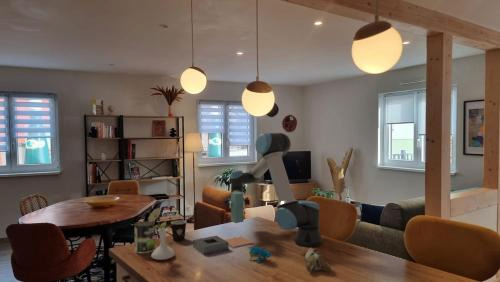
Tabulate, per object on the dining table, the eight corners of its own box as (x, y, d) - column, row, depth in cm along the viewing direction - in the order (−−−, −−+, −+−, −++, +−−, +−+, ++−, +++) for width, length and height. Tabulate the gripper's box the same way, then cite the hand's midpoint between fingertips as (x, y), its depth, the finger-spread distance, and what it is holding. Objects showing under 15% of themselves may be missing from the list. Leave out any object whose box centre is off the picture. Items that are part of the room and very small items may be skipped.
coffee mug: (188, 237, 194) (188, 220, 194) (183, 242, 186) (183, 224, 186) (169, 236, 196) (168, 220, 195) (163, 241, 187) (163, 224, 187)
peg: (243, 221, 184) (243, 193, 183) (235, 223, 181) (235, 194, 181) (238, 219, 188) (238, 191, 188) (231, 221, 185) (230, 192, 185)
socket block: (228, 250, 173) (228, 242, 173) (203, 255, 165) (203, 247, 165) (216, 242, 185) (216, 235, 184) (193, 247, 177) (193, 239, 177)
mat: (253, 243, 183) (253, 242, 183) (233, 247, 176) (233, 246, 176) (241, 237, 194) (241, 236, 194) (221, 241, 187) (221, 240, 187)
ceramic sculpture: (321, 243, 156) (332, 257, 141) (321, 261, 156) (332, 276, 141) (299, 244, 155) (308, 258, 140) (299, 262, 155) (308, 278, 140)
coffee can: (159, 248, 175) (158, 222, 175) (143, 255, 166) (143, 227, 166) (145, 245, 180) (145, 220, 180) (130, 251, 172) (129, 224, 171)
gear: (274, 256, 159) (265, 245, 153) (271, 267, 155) (262, 257, 150) (254, 255, 165) (245, 245, 159) (251, 266, 161) (242, 256, 155)
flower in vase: (167, 251, 171) (166, 203, 170) (179, 257, 162) (178, 207, 162) (143, 258, 161) (143, 207, 161) (155, 265, 153) (154, 211, 153)
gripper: (253, 203, 203) (255, 212, 180) (220, 203, 202) (218, 212, 179) (252, 191, 203) (255, 198, 180) (220, 191, 202) (218, 198, 179)
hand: (237, 205), depth 179 cm, fingers closed on peg, 7 cm apart
